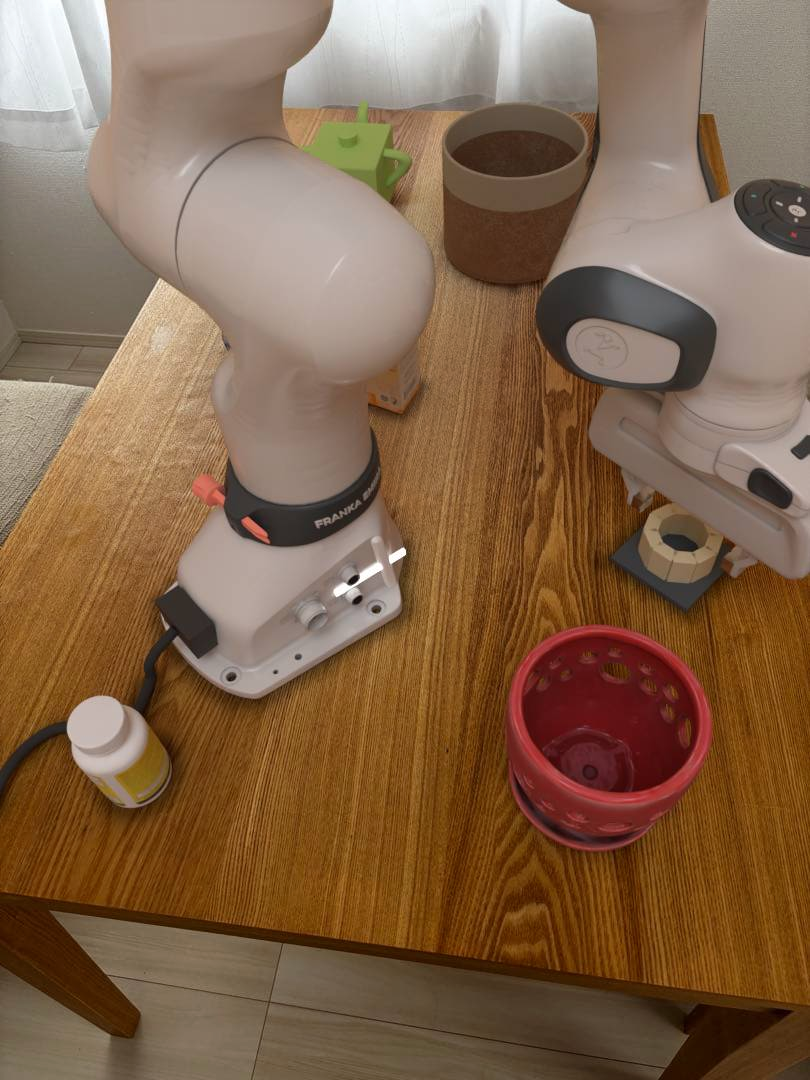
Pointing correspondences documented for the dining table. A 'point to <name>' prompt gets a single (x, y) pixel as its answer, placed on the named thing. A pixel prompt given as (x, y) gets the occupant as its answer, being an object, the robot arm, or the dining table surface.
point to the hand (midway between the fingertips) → (684, 535)
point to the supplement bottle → (118, 751)
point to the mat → (671, 591)
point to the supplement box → (396, 384)
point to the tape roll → (669, 560)
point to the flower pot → (602, 736)
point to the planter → (510, 189)
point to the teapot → (362, 151)
